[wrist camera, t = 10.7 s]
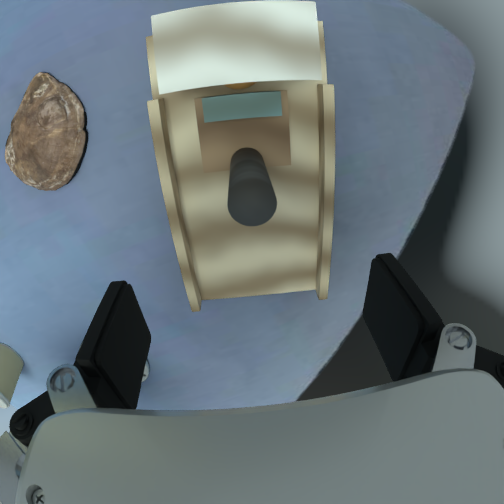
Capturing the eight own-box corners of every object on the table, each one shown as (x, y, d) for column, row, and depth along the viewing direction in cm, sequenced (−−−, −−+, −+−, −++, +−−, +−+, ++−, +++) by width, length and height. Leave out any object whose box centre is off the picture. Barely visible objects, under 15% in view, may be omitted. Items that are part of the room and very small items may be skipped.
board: (321, 283, 37) (337, 327, 30) (194, 295, 37) (187, 342, 30) (319, 23, 21) (347, 5, 14) (148, 38, 21) (119, 24, 14)
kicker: (289, 172, 28) (316, 220, 19) (206, 180, 28) (191, 232, 19) (285, 90, 23) (315, 93, 14) (195, 98, 23) (170, 105, 14)
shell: (112, 115, 25) (97, 120, 22) (61, 205, 30) (47, 219, 26) (43, 65, 20) (24, 66, 17) (2, 156, 25) (-15, 165, 22)
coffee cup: (-11, 342, 43) (-32, 381, 33) (5, 337, 42) (-18, 381, 32) (15, 369, 48) (-3, 408, 38) (33, 367, 46) (15, 411, 36)
